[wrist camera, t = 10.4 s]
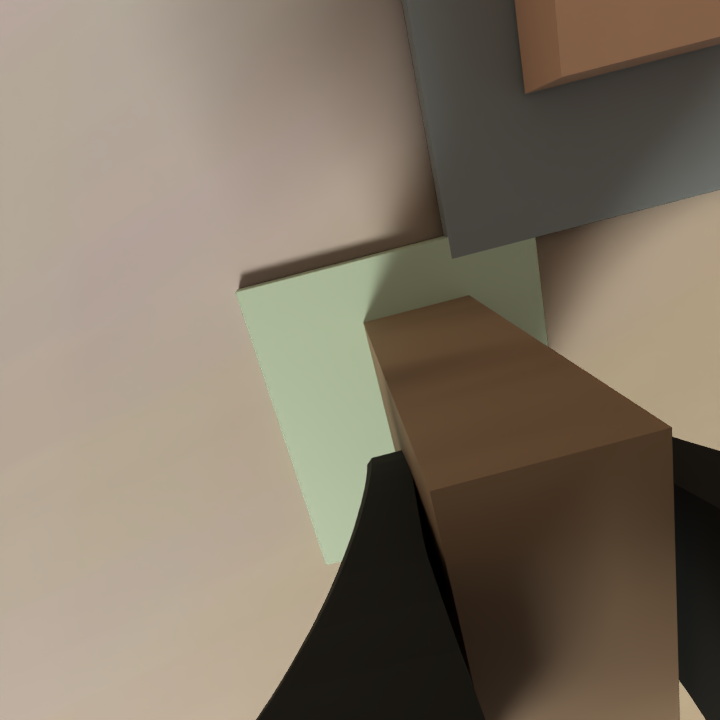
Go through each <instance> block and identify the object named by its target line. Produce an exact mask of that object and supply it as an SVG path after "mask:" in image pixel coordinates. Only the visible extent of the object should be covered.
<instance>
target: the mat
mask: <svg viewBox="0 0 720 720" xmlns="http://www.w3.org/2000/svg"><path fill="white" fill-rule="evenodd" d="M402 5H403V11H404V16H405V22H406V27H407V33H408V39H409V44H410V50H411V55H412V61H413V67H414V72H415V78H416V83H417V89H418V95H419V100H420V106H421V111H422V117H423V123H424V128H425V134H426V139H427V145H428V151H429V156H430V162H431V167H432V173H433V179H434V184H435V190H436V195H437V201H438V207H439V212H440V218H441V223H442V229H443V235H444V236H445V237H448V239H449V245H450V251H451V256H452V259H454V258H458V257H462V256H466V255H469V254H473V253H477V252H481V251H485V250H489V249H493V248H496V247H500V246H504V245H508V244H512V243H516V242H520V241H524V240H527V239H531V238H535V237H539V236H543V235H547V234H551V233H554V232H558V231H562V230H566V229H570V228H574V227H578V226H581V225H585V224H589V223H593V222H597V221H601V220H605V219H609V218H612V217H616V216H620V215H624V214H628V213H632V212H636V211H639V210H643V209H647V208H651V207H655V206H659V205H663V204H667V203H670V202H674V201H678V200H682V199H686V198H690V197H694V196H697V195H701V194H705V193H709V192H713V191H717V190H720V44H718V45H715V46H711V47H707V48H703V49H699V50H695V51H691V52H687V53H683V54H679V55H676V56H672V57H668V58H664V59H660V60H656V61H652V62H648V63H644V64H640V65H637V66H633V67H629V68H625V69H621V70H617V71H613V72H609V73H605V74H601V75H598V76H594V77H590V78H586V79H582V80H578V81H574V82H570V83H566V84H562V85H558V86H555V87H551V88H547V89H543V90H539V91H535V92H531V93H527V94H525V89H524V80H523V71H522V62H521V53H520V44H519V36H518V27H517V18H516V9H515V0H402Z"/></svg>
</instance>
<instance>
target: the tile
mask: <svg viewBox="0 0 720 720" xmlns="http://www.w3.org/2000/svg"><path fill="white" fill-rule="evenodd" d="M515 9H516V18H517V27H518V36H519V44H520V53H521V62H522V71H523V80H524V89H525V94H527V93H531V92H535V91H539V90H543V89H547V88H551V87H555V86H558V85H562V84H566V83H570V82H574V81H578V80H582V79H586V78H590V77H594V76H598V75H601V74H605V73H609V72H613V71H617V70H621V69H625V68H629V67H633V66H637V65H640V64H644V63H648V62H652V61H656V60H660V59H664V58H668V57H672V56H676V55H679V54H683V53H687V52H691V51H695V50H699V49H703V48H707V47H711V46H715V45H718V44H720V0H515Z"/></svg>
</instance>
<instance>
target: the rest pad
mask: <svg viewBox="0 0 720 720" xmlns="http://www.w3.org/2000/svg"><path fill="white" fill-rule="evenodd" d="M235 293H236V296H237V299H238V302H239V305H240V308H241V311H242V314H243V317H244V320H245V323H246V326H247V329H248V332H249V335H250V338H251V341H252V344H253V347H254V350H255V353H256V356H257V359H258V362H259V365H260V368H261V371H262V374H263V377H264V380H265V383H266V386H267V389H268V392H269V395H270V398H271V401H272V404H273V407H274V410H275V413H276V416H277V419H278V422H279V425H280V428H281V431H282V434H283V437H284V440H285V443H286V446H287V449H288V452H289V455H290V458H291V461H292V464H293V467H294V470H295V473H296V476H297V479H298V482H299V485H300V488H301V491H302V494H303V497H304V500H305V503H306V506H307V509H308V512H309V515H310V518H311V521H312V524H313V527H314V530H315V533H316V536H317V539H318V542H319V545H320V548H321V551H322V554H323V557H324V560H325V563H326V565H329V564H333V563H337V562H340V561H342V559H343V557H344V554H345V551H346V549H347V546H348V543H349V541H350V538H351V535H352V532H353V529H354V526H355V522H356V519H357V515H358V512H359V508H360V505H361V501H362V497H363V492H364V488H365V482H366V475H367V464H368V463H369V461H370V460H371V458H373V457H377V456H381V455H385V454H389V453H392V452H395V449H394V445H393V441H392V437H391V433H390V429H389V425H388V421H387V417H386V413H385V409H384V405H383V400H382V396H381V392H380V388H379V384H378V380H377V376H376V372H375V368H374V364H373V360H372V356H371V352H370V348H369V344H368V340H367V336H366V332H365V328H364V324H363V323H364V322H367V321H371V320H375V319H379V318H383V317H387V316H391V315H394V314H398V313H402V312H406V311H410V310H414V309H418V308H421V307H425V306H429V305H433V304H437V303H441V302H445V301H449V300H452V299H456V298H460V297H464V296H468V295H470V296H471V297H473V298H474V299H476V300H477V301H479V302H480V303H482V304H483V305H485V306H486V307H488V308H490V309H491V310H493V311H494V312H496V313H497V314H499V315H500V316H502V317H503V318H505V319H506V320H508V321H509V322H511V323H513V324H514V325H516V326H517V327H519V328H520V329H522V330H523V331H525V332H526V333H528V334H529V335H531V336H532V337H534V338H535V339H537V340H539V341H540V342H542V343H543V344H545V345H546V346H548V341H547V333H546V324H545V316H544V307H543V298H542V290H541V281H540V273H539V264H538V256H537V247H536V238H531V239H527V240H524V241H520V242H516V243H512V244H508V245H504V246H500V247H496V248H493V249H489V250H485V251H481V252H477V253H473V254H469V255H466V256H462V257H458V258H454V259H452V256H451V251H450V245H449V239H448V237H445V236H442V237H438V238H434V239H430V240H426V241H423V242H419V243H415V244H411V245H407V246H403V247H399V248H395V249H392V250H388V251H384V252H380V253H376V254H372V255H368V256H365V257H361V258H357V259H353V260H349V261H345V262H341V263H337V264H334V265H330V266H326V267H322V268H318V269H314V270H310V271H306V272H303V273H299V274H295V275H291V276H287V277H283V278H279V279H275V280H272V281H268V282H264V283H260V284H256V285H252V286H248V287H245V288H241V289H238V290H237V291H236V292H235Z"/></svg>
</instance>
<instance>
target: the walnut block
mask: <svg viewBox="0 0 720 720" xmlns="http://www.w3.org/2000/svg"><path fill="white" fill-rule="evenodd" d="M363 324H364V328H365V332H366V336H367V340H368V344H369V348H370V352H371V356H372V360H373V364H374V368H375V372H376V376H377V380H378V384H379V388H380V392H381V396H382V400H383V405H384V409H385V413H386V417H387V421H388V425H389V429H390V433H391V437H392V441H393V445H394V449H395V452H396V451H400V450H402V452H403V454H404V456H405V458H406V461H407V463H408V465H409V468H410V470H411V473H412V477H413V481H414V485H415V489H416V494H417V498H418V502H419V506H420V510H421V515H422V519H423V523H424V527H425V531H426V536H427V540H428V544H429V548H430V552H431V557H432V561H433V565H434V569H435V573H436V577H437V582H438V586H439V590H440V594H441V597H442V600H443V603H444V606H445V609H446V611H447V614H448V617H449V620H450V623H451V626H452V628H453V631H454V634H455V637H456V640H457V643H458V646H459V648H460V651H461V654H462V657H463V659H464V662H465V665H466V668H467V670H468V673H469V676H470V679H471V681H472V684H473V687H474V690H475V692H476V695H477V698H478V701H479V703H480V706H481V709H482V712H483V714H484V717H485V720H680V708H679V671H678V634H677V597H676V560H675V523H674V485H673V448H672V427H670V426H669V425H667V424H666V423H664V422H663V421H661V420H660V419H658V418H657V417H655V416H654V415H652V414H650V413H649V412H647V411H646V410H644V409H643V408H641V407H640V406H638V405H637V404H635V403H634V402H632V401H631V400H629V399H627V398H626V397H624V396H623V395H621V394H620V393H618V392H617V391H615V390H614V389H612V388H611V387H609V386H608V385H606V384H604V383H603V382H601V381H600V380H598V379H597V378H595V377H594V376H592V375H591V374H589V373H588V372H586V371H585V370H583V369H581V368H580V367H578V366H577V365H575V364H574V363H572V362H571V361H569V360H568V359H566V358H565V357H563V356H562V355H560V354H558V353H557V352H555V351H554V350H552V349H551V348H549V347H548V346H546V345H545V344H543V343H542V342H540V341H539V340H537V339H535V338H534V337H532V336H531V335H529V334H528V333H526V332H525V331H523V330H522V329H520V328H519V327H517V326H516V325H514V324H513V323H511V322H509V321H508V320H506V319H505V318H503V317H502V316H500V315H499V314H497V313H496V312H494V311H493V310H491V309H490V308H488V307H486V306H485V305H483V304H482V303H480V302H479V301H477V300H476V299H474V298H473V297H471V296H470V295H468V296H464V297H460V298H456V299H452V300H449V301H445V302H441V303H437V304H433V305H429V306H425V307H421V308H418V309H414V310H410V311H406V312H402V313H398V314H394V315H391V316H387V317H383V318H379V319H375V320H371V321H367V322H364V323H363Z"/></svg>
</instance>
